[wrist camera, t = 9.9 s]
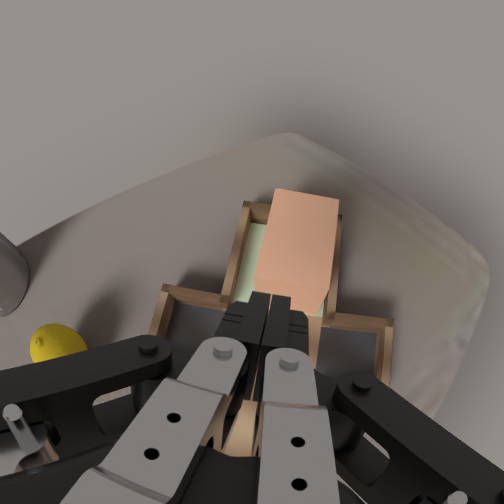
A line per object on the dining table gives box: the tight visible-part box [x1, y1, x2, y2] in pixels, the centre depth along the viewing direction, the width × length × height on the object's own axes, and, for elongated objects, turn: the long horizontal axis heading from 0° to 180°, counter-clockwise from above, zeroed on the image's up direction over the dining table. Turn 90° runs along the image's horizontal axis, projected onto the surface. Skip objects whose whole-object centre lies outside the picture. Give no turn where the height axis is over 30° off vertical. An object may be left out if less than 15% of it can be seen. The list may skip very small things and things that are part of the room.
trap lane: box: [148, 201, 394, 457], centre depth 28 cm, size 29×22×3 cm
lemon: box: [30, 324, 88, 363], centre depth 26 cm, size 6×6×8 cm
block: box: [254, 188, 339, 316], centre depth 30 cm, size 9×6×7 cm, turn 167°
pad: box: [233, 223, 324, 317], centre depth 33 cm, size 10×9×1 cm
